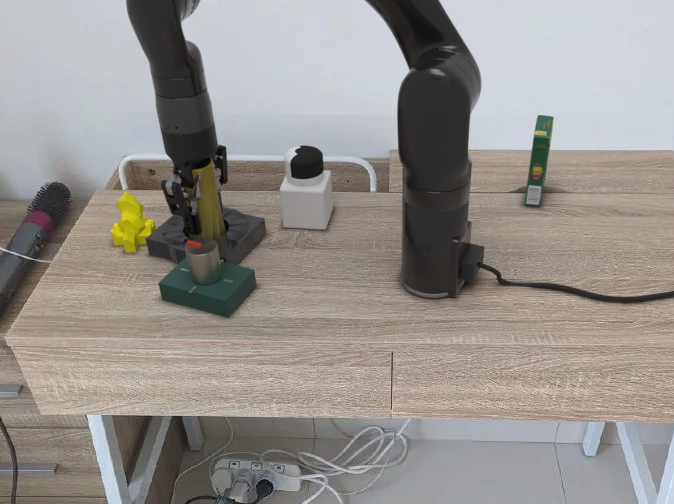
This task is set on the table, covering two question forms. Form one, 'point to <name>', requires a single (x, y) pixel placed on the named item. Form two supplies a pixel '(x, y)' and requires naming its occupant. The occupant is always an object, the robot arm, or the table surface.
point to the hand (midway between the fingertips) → (205, 223)
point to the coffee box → (539, 160)
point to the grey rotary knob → (203, 261)
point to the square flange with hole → (231, 246)
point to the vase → (207, 204)
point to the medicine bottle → (306, 189)
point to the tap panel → (209, 288)
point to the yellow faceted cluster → (131, 224)
